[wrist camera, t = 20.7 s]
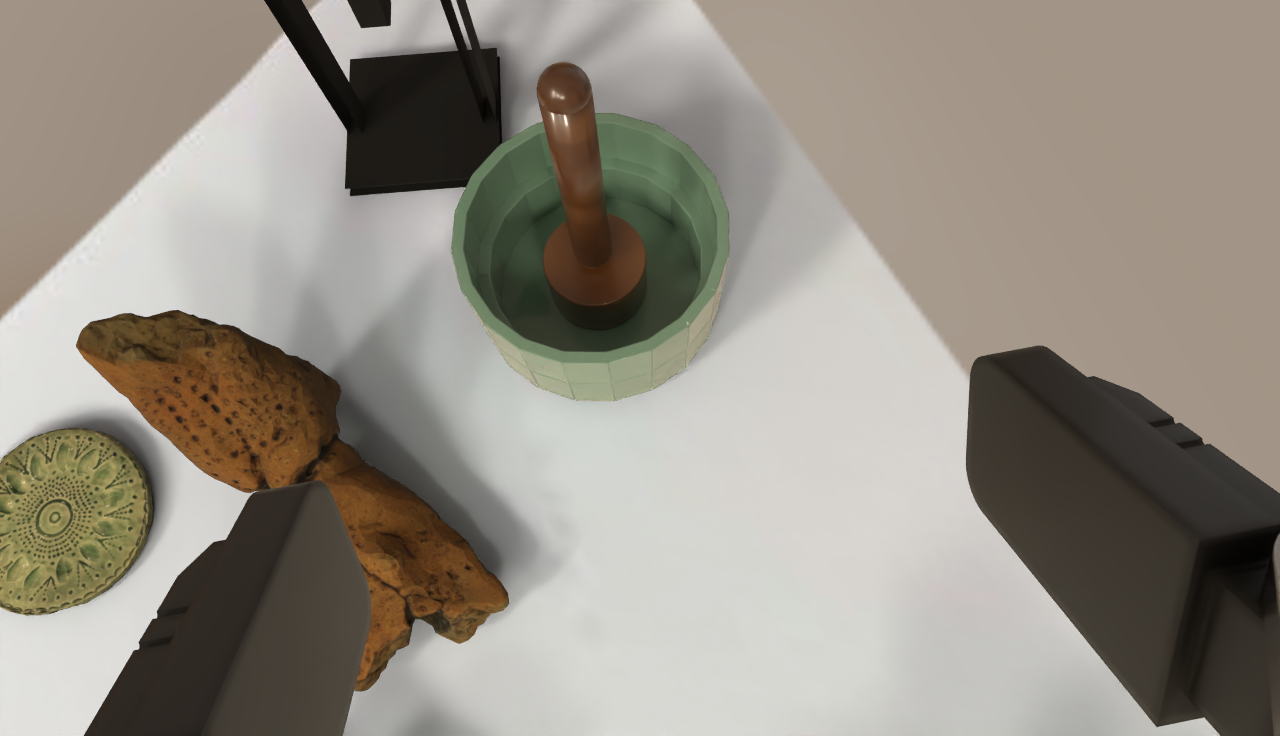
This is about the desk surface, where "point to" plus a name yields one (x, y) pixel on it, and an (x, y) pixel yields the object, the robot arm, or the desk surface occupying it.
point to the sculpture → (295, 463)
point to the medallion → (69, 519)
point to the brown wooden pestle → (586, 213)
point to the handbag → (405, 103)
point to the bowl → (635, 191)
